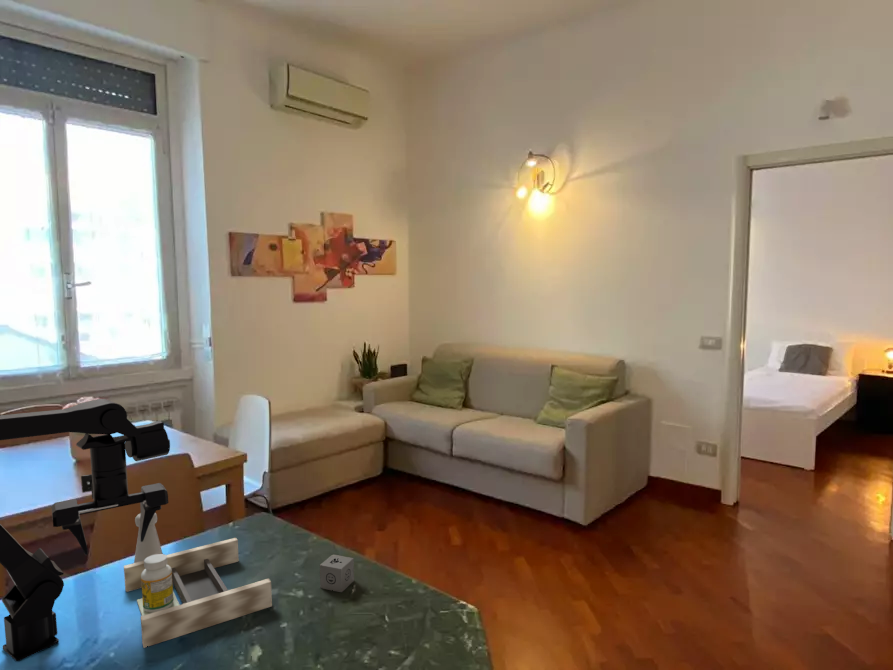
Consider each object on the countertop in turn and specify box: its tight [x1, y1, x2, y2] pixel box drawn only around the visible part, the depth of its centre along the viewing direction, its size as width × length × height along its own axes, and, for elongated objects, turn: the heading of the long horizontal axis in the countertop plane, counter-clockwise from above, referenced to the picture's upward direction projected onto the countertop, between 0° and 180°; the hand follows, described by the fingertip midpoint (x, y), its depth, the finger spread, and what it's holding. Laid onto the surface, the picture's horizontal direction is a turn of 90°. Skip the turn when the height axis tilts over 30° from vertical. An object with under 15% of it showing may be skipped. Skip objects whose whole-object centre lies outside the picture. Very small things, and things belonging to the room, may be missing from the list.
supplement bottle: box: [141, 553, 174, 613], centre depth 116 cm, size 5×5×10 cm
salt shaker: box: [133, 512, 164, 563], centre depth 130 cm, size 6×6×13 cm
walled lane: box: [123, 537, 273, 649], centre depth 120 cm, size 22×24×5 cm
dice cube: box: [319, 554, 355, 593], centre depth 124 cm, size 5×5×5 cm
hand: (114, 547), depth 114 cm, fingers open, 9 cm apart
